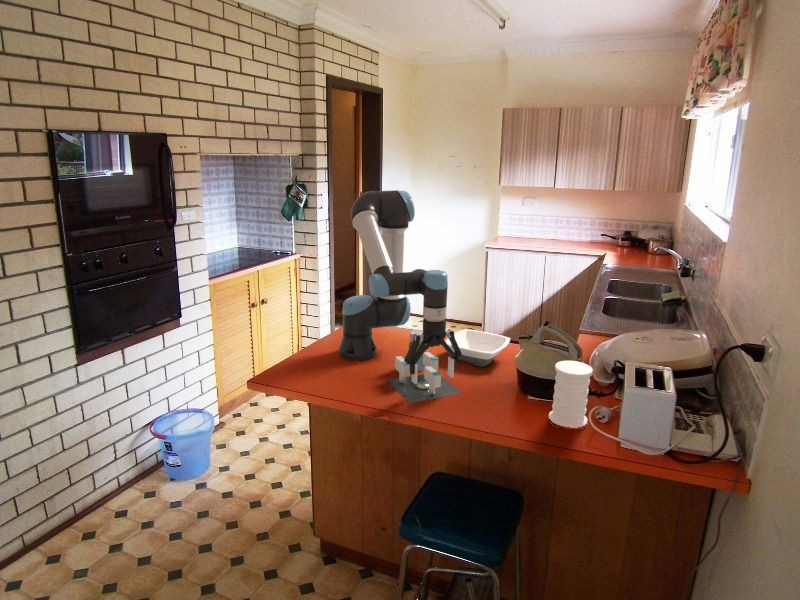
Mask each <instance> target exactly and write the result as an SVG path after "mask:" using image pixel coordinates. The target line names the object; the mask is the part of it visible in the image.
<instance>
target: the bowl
mask: <svg viewBox="0 0 800 600" xmlns="http://www.w3.org/2000/svg"><path fill="white" fill-rule="evenodd" d="M454 337H455V340H456V342H457V344H458V346H459V349H460V351H461V353H462V355H461V356H458V359H457V360H460V361H462V362H466V363H468V364H469V365H470V366H474V367H475V366H476V367H481V368H484V367H487V366H489V364H491V362H492V361H494V359H495V358H496V357H497V356H498V355H499V354H500V353H501V352H502V351H503V350H504V349H505V348H506V347H507V346H508V345H509V344H510V342H511V337H508V336H505V335H501V334H496V333H493V332H486V331H480V330H475V329H466V328H465V329H461V330H459V331H456V332H454ZM444 341H445V342H446V343H447V345H448V346H449V347H450V348H451V350H452V351H453V352H455V351H454V349H453V347H452V345H451V343H450V340H449V338H448V337H447V338H446V340H444Z"/></svg>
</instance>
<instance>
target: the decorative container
mask: <svg viewBox="0 0 800 600" xmlns="http://www.w3.org/2000/svg"><path fill="white" fill-rule="evenodd" d="M593 370H594V369H593V367H592V366H590V365H588V364H586V363H584V362H580V361H577V360H561V361H560V360H559V361H558V362H556V363H555V366H554V371H555V372H556V374H555V376H554V379H555V380H554V381H555V383H554V385H553V386H554V387H553V388H554V389H553V390H554V393H553V396H552V398H553V403H552V404H551V406H552V407H551V408H552V410H551V411H549V413H548V420H549V419H550V420H551V421H552V422H553V423H555V424H557V425H560V426H564V427H570V428H578V427H582V426H585V425H586V424H587V425H588V422H589V421H588V417H587V416H586V413H587V404H588V395H589V393H590V392H589V386H590V383H591V381H590V380H591V379H590V378H591V376H593V372H594V371H593ZM587 421H588V422H587Z"/></svg>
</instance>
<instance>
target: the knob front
mask: <svg viewBox="0 0 800 600" xmlns="http://www.w3.org/2000/svg"><path fill="white" fill-rule="evenodd" d="M423 374H424V379H425V380H426V381H427V382H428V383H429V394H435V388H437V387H441V376H442V373H441V372H440V371H439V370H438V371H436V370H435V369H433V368H432V367H431V366H428V367H425V369H424V372H423Z"/></svg>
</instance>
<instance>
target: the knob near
mask: <svg viewBox="0 0 800 600" xmlns="http://www.w3.org/2000/svg"><path fill="white" fill-rule="evenodd" d="M404 359H405V358H404V357H403V356H402V355H399V356H395V357H394V369H395V370H396V371H398V373H399V378H398V379H399V382H400V383H404V382H405V377H410V376H411V373H410V364H407V363H406V362H404Z"/></svg>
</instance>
